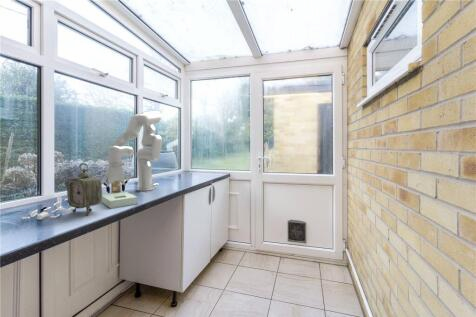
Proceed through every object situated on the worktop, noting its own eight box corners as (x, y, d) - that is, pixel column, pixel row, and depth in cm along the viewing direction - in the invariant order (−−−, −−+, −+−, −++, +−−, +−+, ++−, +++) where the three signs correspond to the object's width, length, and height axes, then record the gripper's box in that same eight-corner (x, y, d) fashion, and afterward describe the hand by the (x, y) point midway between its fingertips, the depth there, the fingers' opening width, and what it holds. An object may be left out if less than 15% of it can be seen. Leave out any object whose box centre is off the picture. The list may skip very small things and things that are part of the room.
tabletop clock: (68, 213, 114) (66, 163, 112) (86, 208, 122) (85, 162, 120) (85, 217, 107) (83, 164, 106) (104, 212, 116) (102, 163, 114)
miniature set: (69, 201, 135) (91, 203, 137) (20, 225, 101) (50, 228, 102) (70, 190, 135) (92, 193, 136) (21, 211, 100) (51, 214, 102)
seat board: (126, 198, 146) (125, 191, 146) (137, 203, 132) (137, 197, 132) (101, 201, 137) (101, 195, 137) (110, 208, 122) (110, 201, 122)
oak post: (118, 196, 152) (118, 179, 151) (120, 197, 149) (120, 180, 148) (111, 197, 149) (111, 180, 148) (113, 198, 146) (112, 181, 145)
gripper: (127, 164, 156) (128, 189, 157) (98, 165, 144) (99, 192, 145) (131, 164, 151) (131, 190, 152) (101, 166, 139) (102, 194, 140)
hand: (115, 191), depth 148 cm, fingers open, 8 cm apart
